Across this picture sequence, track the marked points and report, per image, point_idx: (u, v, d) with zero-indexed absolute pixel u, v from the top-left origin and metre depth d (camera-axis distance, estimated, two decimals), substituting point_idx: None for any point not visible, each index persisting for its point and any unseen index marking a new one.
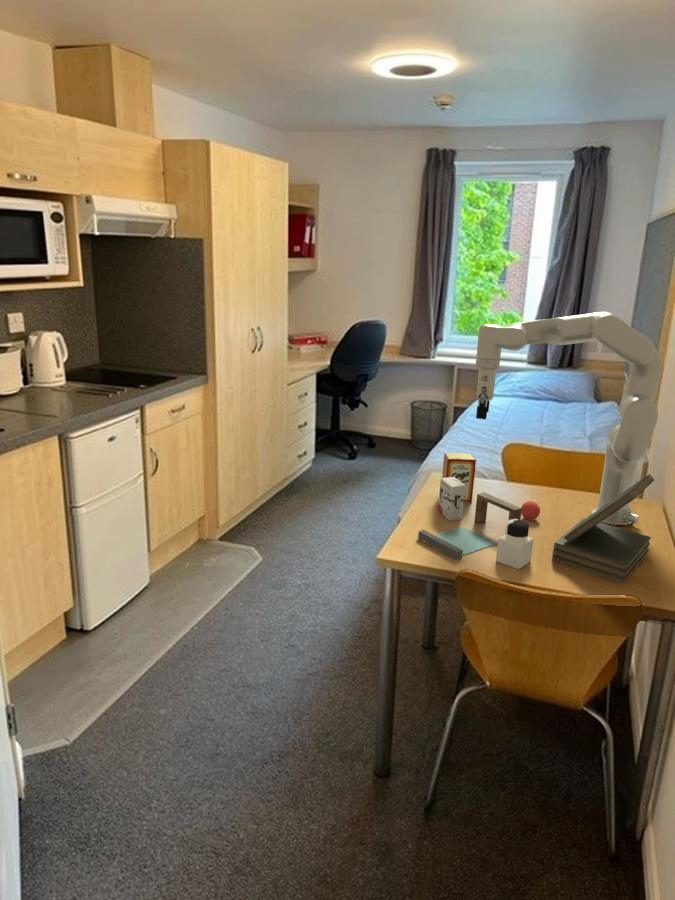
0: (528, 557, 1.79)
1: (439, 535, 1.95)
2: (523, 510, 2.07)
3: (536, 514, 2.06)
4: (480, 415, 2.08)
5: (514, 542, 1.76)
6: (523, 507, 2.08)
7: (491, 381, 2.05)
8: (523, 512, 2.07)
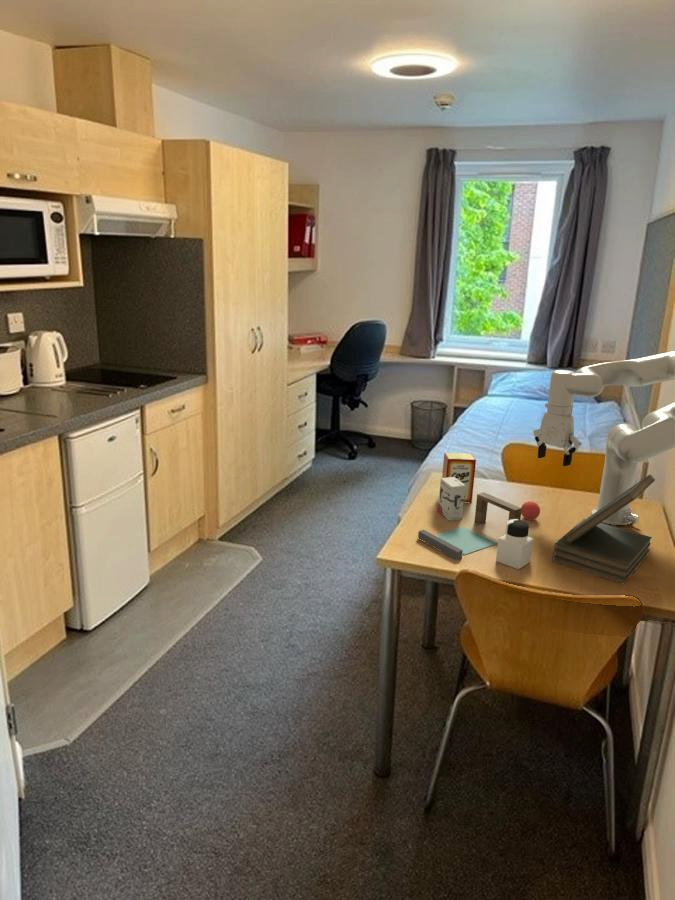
0: (528, 557, 1.79)
1: (439, 535, 1.95)
2: (523, 510, 2.07)
3: (536, 514, 2.06)
4: None
5: (514, 542, 1.76)
6: (523, 507, 2.08)
7: None
8: (523, 512, 2.07)
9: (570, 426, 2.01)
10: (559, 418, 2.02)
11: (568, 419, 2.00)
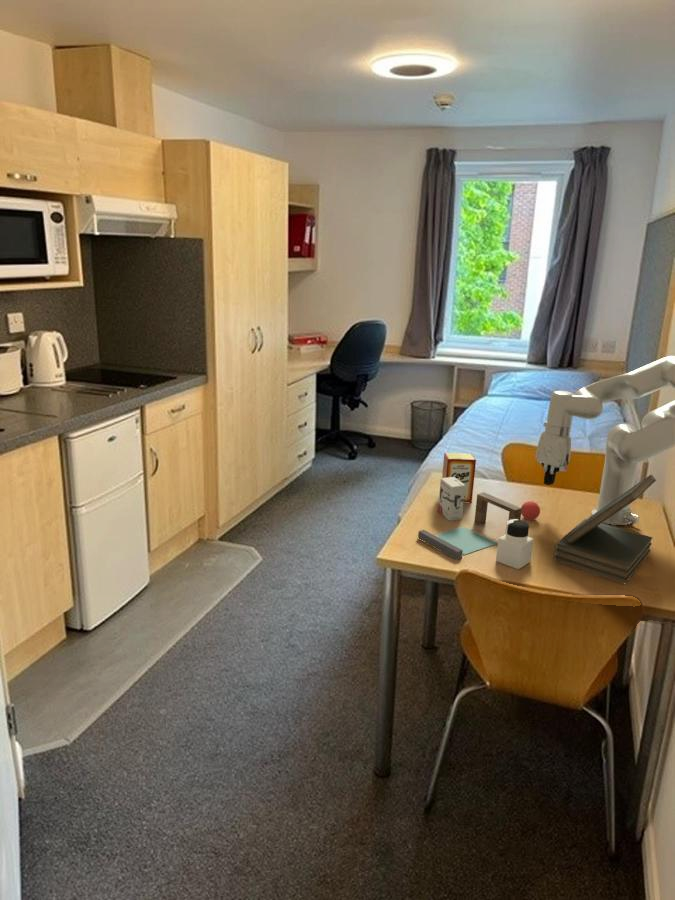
0: (528, 557, 1.79)
1: (439, 535, 1.95)
2: (523, 510, 2.07)
3: (536, 514, 2.06)
4: None
5: (514, 542, 1.76)
6: (523, 507, 2.08)
7: None
8: (523, 512, 2.07)
9: (567, 447, 2.03)
10: (557, 438, 2.04)
11: (565, 440, 2.02)
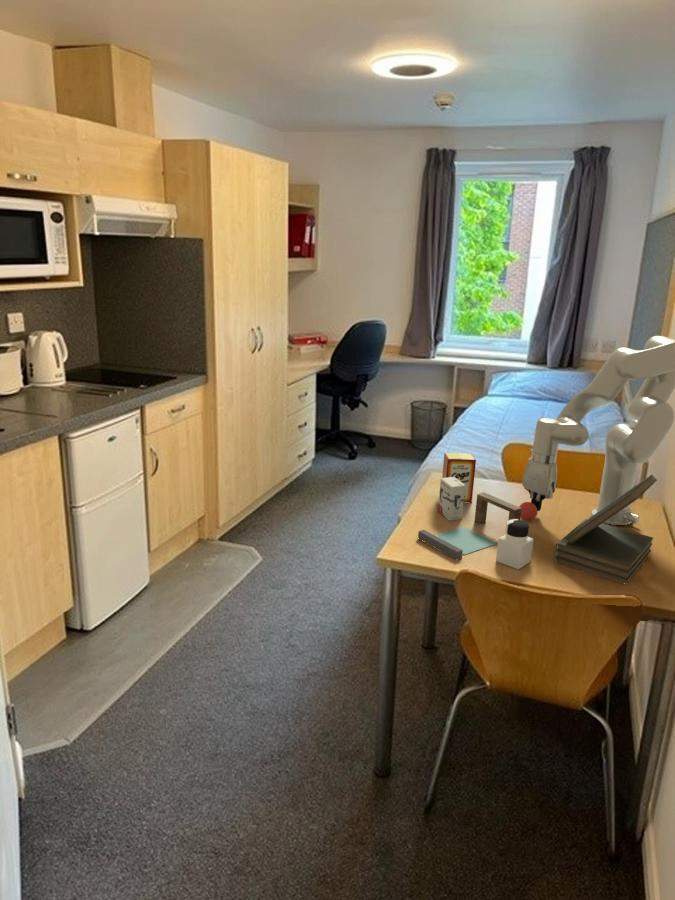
0: (528, 557, 1.79)
1: (439, 535, 1.95)
2: None
3: (533, 515, 2.06)
4: None
5: (514, 542, 1.76)
6: None
7: None
8: None
9: (553, 474, 2.03)
10: (542, 466, 2.03)
11: (551, 468, 2.02)
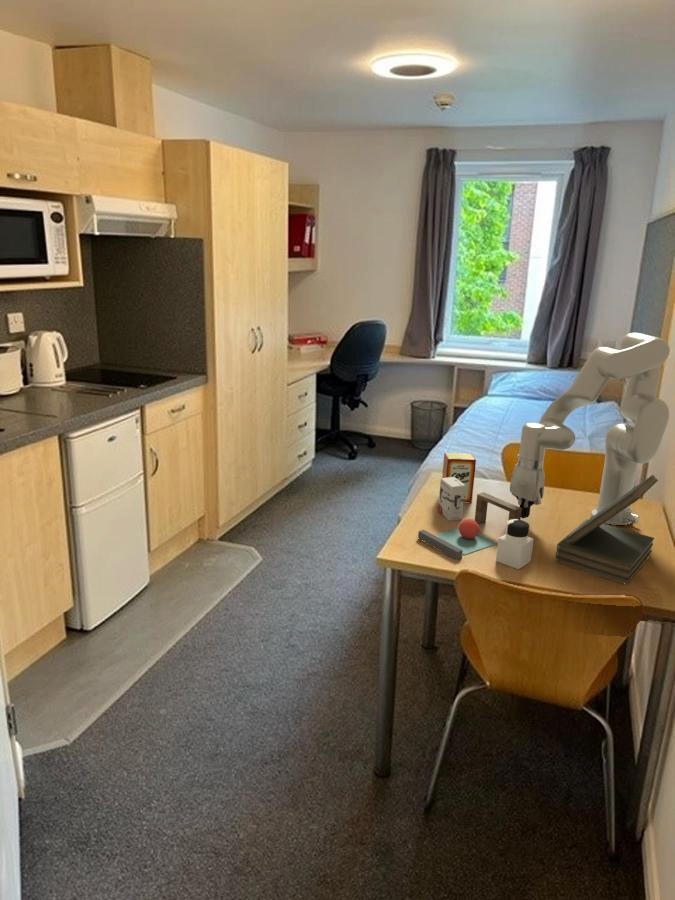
0: (528, 557, 1.79)
1: (439, 535, 1.95)
2: None
3: (477, 532, 1.92)
4: None
5: (514, 542, 1.76)
6: None
7: None
8: None
9: (540, 480, 1.99)
10: (529, 471, 2.00)
11: (538, 473, 1.98)
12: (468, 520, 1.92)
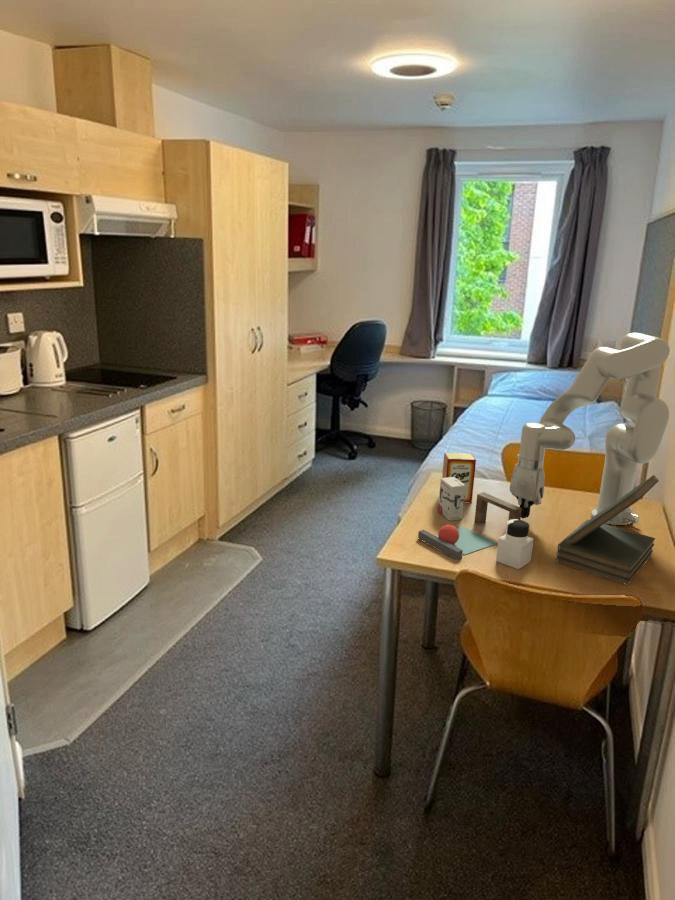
0: (528, 557, 1.79)
1: None
2: (443, 528, 1.88)
3: (454, 538, 1.86)
4: None
5: (514, 542, 1.76)
6: (444, 526, 1.88)
7: None
8: (442, 530, 1.87)
9: (540, 480, 1.99)
10: (529, 471, 2.00)
11: (538, 473, 1.98)
12: None
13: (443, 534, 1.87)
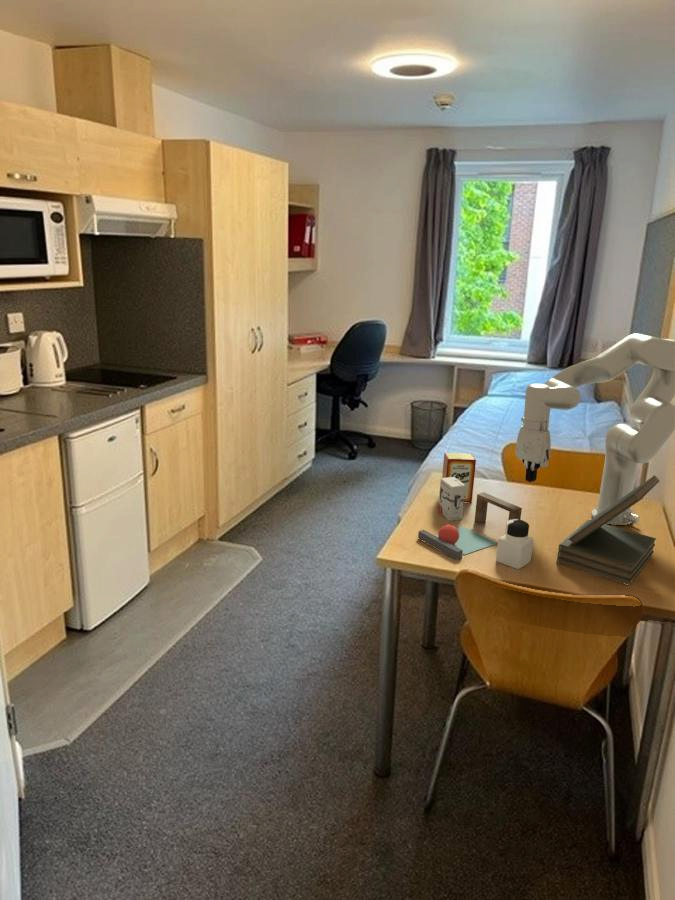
0: (528, 557, 1.79)
1: None
2: (443, 528, 1.88)
3: (454, 538, 1.86)
4: None
5: (514, 542, 1.76)
6: (444, 526, 1.88)
7: None
8: (442, 530, 1.87)
9: (546, 441, 1.96)
10: (535, 433, 1.96)
11: (544, 434, 1.95)
12: None
13: (443, 534, 1.87)
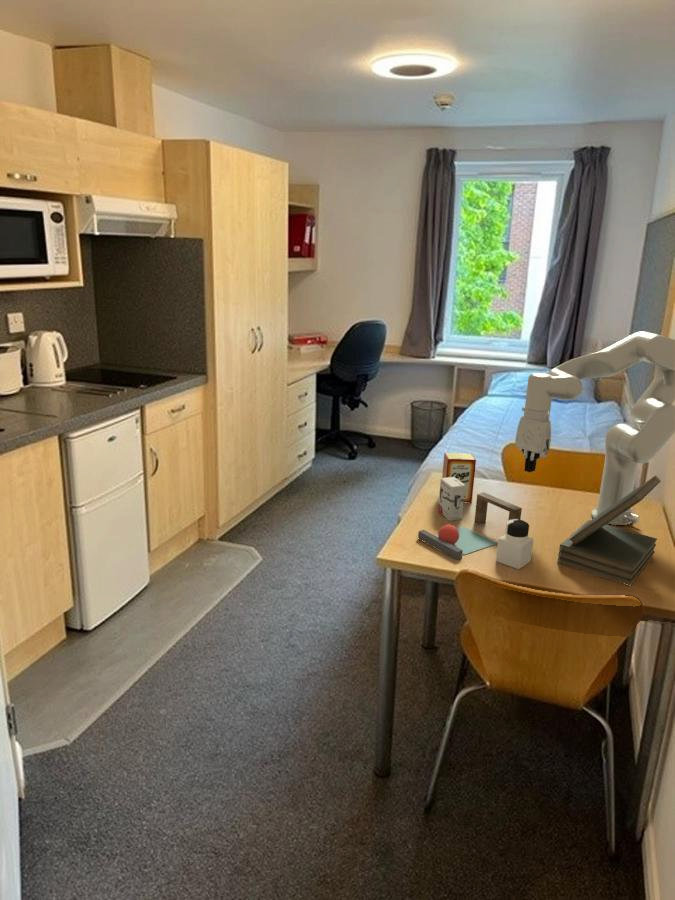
0: (528, 557, 1.79)
1: None
2: (443, 528, 1.88)
3: (454, 538, 1.86)
4: None
5: (514, 542, 1.76)
6: (444, 526, 1.88)
7: None
8: (442, 530, 1.87)
9: (547, 431, 1.95)
10: (536, 423, 1.95)
11: (544, 424, 1.94)
12: None
13: (443, 534, 1.87)
